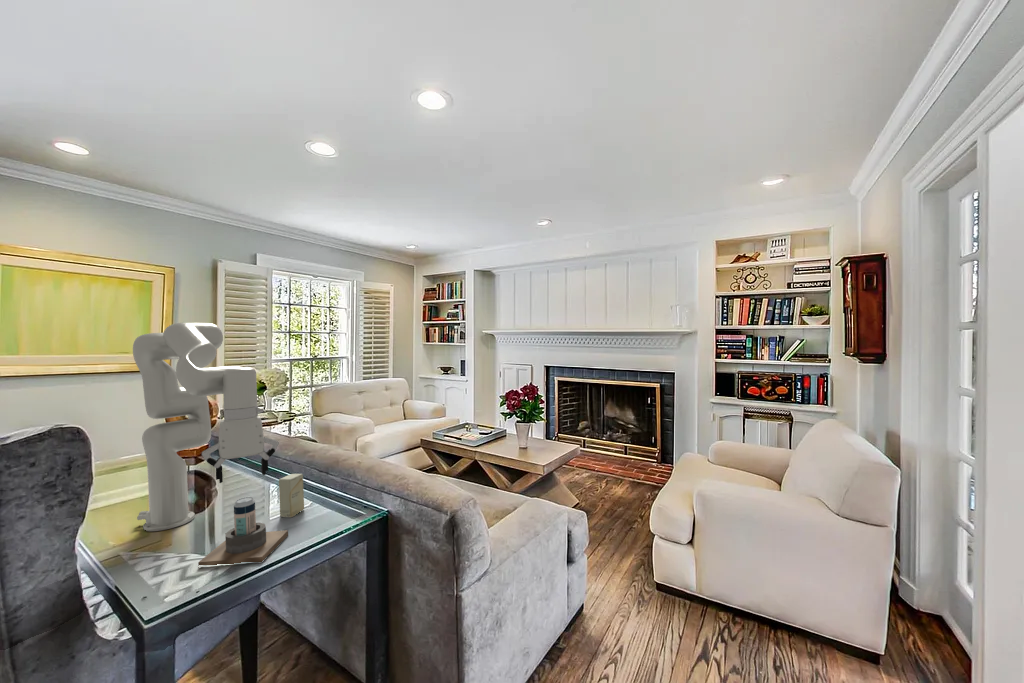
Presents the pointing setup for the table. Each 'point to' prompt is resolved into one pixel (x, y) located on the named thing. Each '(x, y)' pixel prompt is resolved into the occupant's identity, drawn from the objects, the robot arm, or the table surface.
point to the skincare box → (291, 495)
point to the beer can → (244, 516)
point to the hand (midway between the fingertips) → (242, 477)
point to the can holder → (245, 547)
